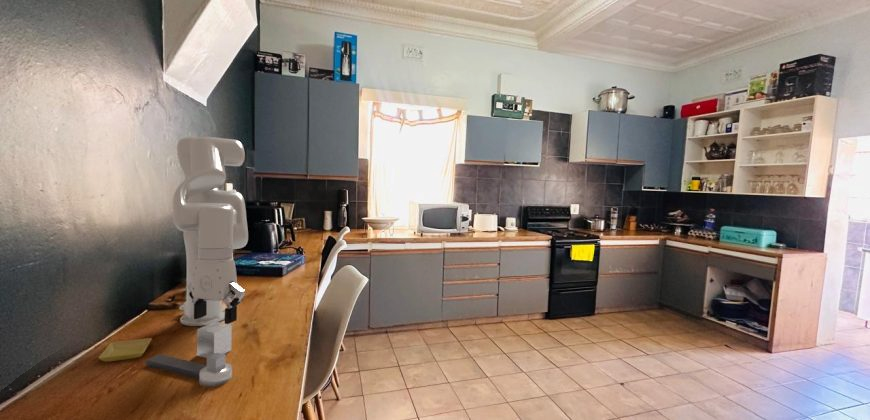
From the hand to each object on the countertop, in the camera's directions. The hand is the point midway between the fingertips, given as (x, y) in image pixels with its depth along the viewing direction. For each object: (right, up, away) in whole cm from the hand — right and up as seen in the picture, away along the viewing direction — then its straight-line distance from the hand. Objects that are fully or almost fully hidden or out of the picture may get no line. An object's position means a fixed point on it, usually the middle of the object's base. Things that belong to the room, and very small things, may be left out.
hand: (215, 319), depth 92 cm
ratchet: (-1, -10, -8) cm, 13 cm away
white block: (-1, -9, +1) cm, 9 cm away
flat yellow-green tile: (-22, -9, -1) cm, 23 cm away
